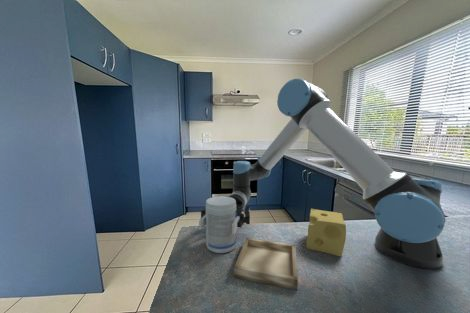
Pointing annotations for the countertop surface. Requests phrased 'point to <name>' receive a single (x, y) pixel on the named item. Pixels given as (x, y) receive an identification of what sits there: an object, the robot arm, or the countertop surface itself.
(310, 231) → the cheese
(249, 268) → the tray
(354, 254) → the countertop surface
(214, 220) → the supplement tub
